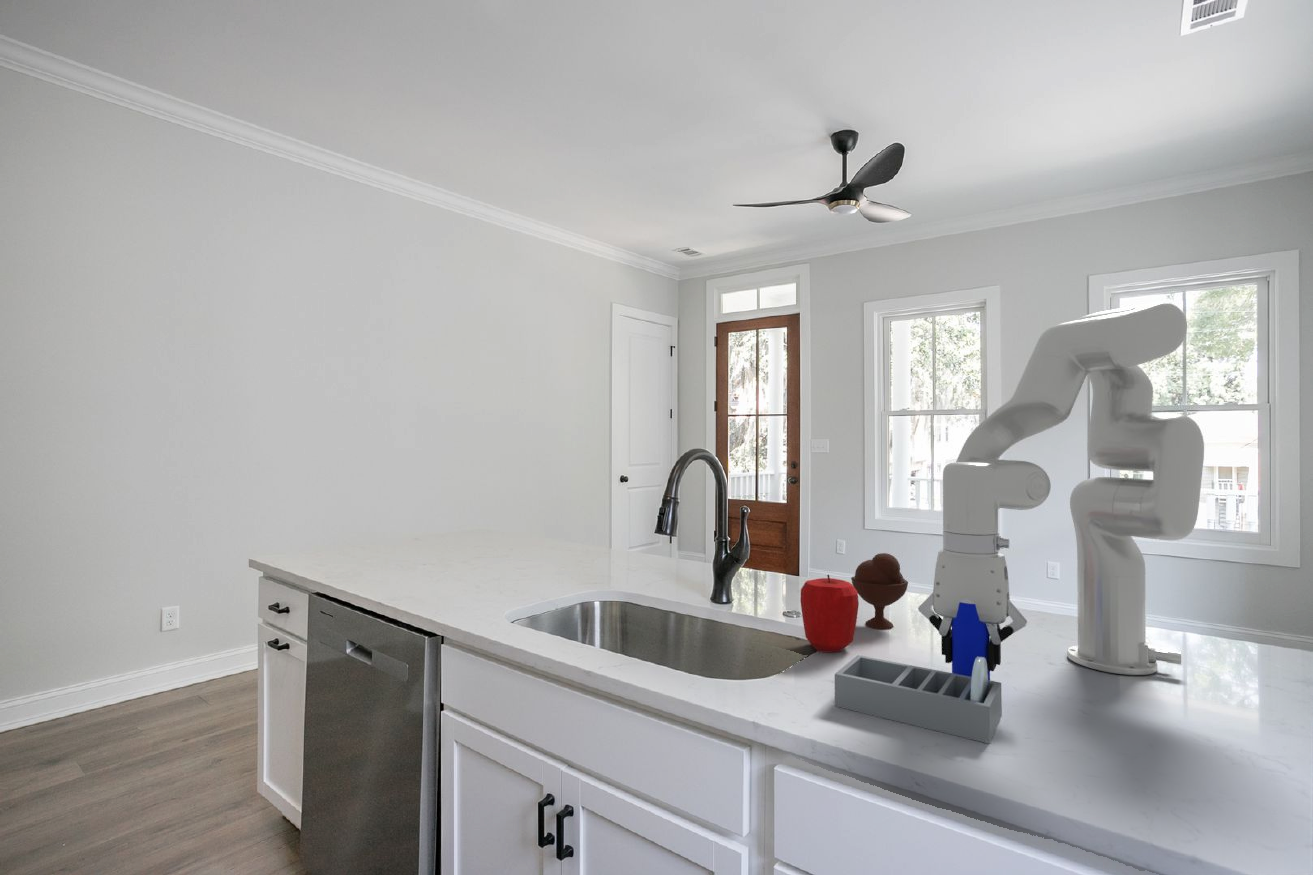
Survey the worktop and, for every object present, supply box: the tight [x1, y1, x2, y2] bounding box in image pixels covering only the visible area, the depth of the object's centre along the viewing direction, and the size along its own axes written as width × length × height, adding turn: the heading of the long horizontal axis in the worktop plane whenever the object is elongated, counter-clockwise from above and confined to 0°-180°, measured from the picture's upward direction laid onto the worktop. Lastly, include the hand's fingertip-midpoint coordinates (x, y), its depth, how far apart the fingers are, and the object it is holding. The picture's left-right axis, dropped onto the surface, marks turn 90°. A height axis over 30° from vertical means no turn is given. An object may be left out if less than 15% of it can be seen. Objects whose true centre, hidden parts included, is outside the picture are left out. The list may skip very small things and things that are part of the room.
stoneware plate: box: [971, 656, 988, 703], centre depth 87 cm, size 1×8×8 cm, turn 144°
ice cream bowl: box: [850, 552, 909, 630], centre depth 133 cm, size 11×11×15 cm
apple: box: [799, 574, 859, 653], centre depth 119 cm, size 11×10×14 cm
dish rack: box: [834, 654, 1003, 745], centre depth 91 cm, size 20×10×5 cm, turn 54°
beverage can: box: [951, 599, 991, 681], centre depth 98 cm, size 5×5×15 cm
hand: (970, 663), depth 98 cm, fingers closed on beverage can, 5 cm apart
